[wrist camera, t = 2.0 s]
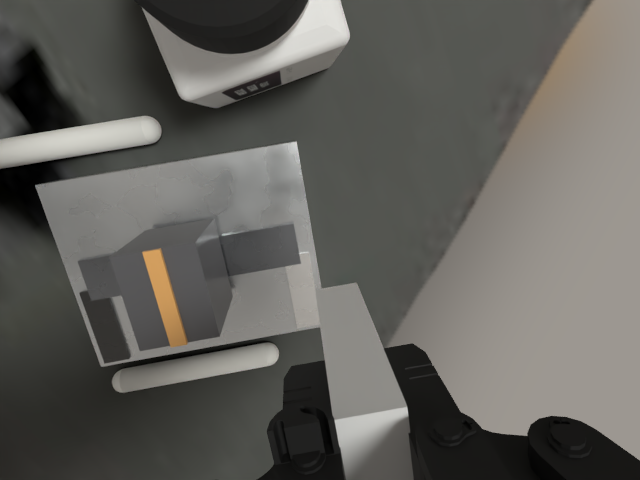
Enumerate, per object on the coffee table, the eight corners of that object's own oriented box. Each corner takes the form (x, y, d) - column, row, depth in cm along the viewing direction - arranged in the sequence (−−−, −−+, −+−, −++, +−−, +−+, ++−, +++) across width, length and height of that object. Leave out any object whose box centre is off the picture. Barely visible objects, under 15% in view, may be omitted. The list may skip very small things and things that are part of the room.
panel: (113, 350, 28) (98, 369, 26) (54, 180, 25) (32, 185, 22) (325, 312, 28) (328, 327, 26) (295, 140, 25) (296, 141, 23)
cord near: (-24, 172, 24) (-46, 175, 23) (-35, 146, 24) (-57, 147, 22) (168, 141, 24) (159, 142, 23) (161, 114, 24) (152, 113, 22)
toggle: (168, 307, 25) (138, 353, 20) (145, 230, 23) (107, 258, 18) (232, 296, 25) (219, 338, 20) (214, 218, 23) (194, 243, 18)
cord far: (121, 385, 29) (112, 399, 27) (114, 365, 28) (104, 379, 27) (280, 355, 29) (280, 368, 28) (276, 336, 29) (276, 348, 27)
